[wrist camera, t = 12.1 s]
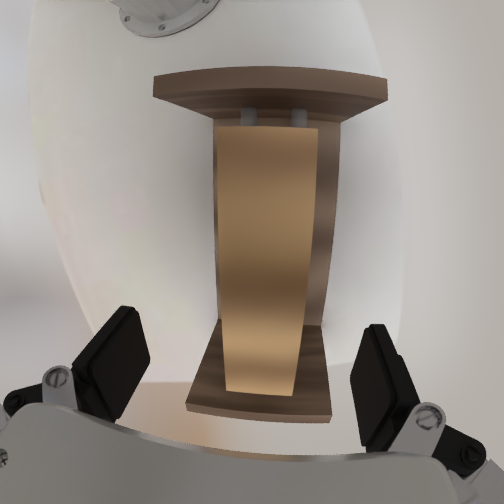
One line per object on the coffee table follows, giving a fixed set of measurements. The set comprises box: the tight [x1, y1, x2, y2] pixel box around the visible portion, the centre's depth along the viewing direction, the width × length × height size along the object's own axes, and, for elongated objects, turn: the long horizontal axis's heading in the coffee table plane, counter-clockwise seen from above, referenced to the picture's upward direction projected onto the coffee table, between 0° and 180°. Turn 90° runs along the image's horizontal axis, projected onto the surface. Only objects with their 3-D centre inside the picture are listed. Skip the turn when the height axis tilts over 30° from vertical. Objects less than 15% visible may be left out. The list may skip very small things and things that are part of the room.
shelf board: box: [217, 126, 318, 396], centre depth 19 cm, size 18×5×6 cm, turn 179°
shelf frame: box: [153, 66, 388, 423], centre depth 22 cm, size 24×12×14 cm, turn 179°
